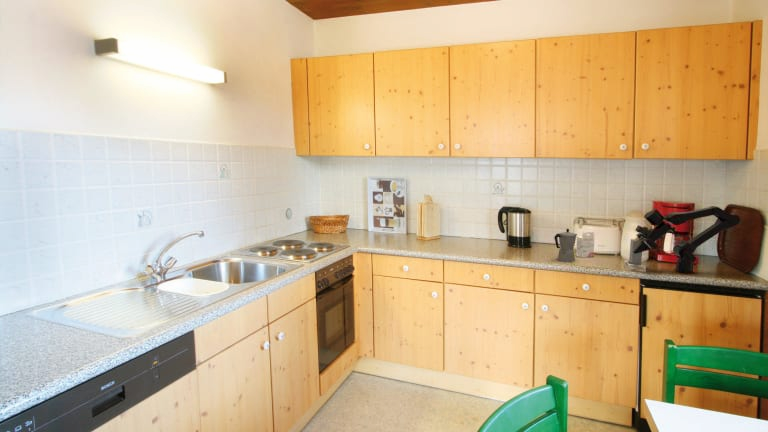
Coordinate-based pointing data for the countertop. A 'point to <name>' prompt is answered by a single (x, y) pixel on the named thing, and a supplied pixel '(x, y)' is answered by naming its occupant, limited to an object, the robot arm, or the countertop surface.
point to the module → (634, 257)
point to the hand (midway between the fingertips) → (632, 251)
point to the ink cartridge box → (585, 245)
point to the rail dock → (634, 267)
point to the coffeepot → (566, 246)
